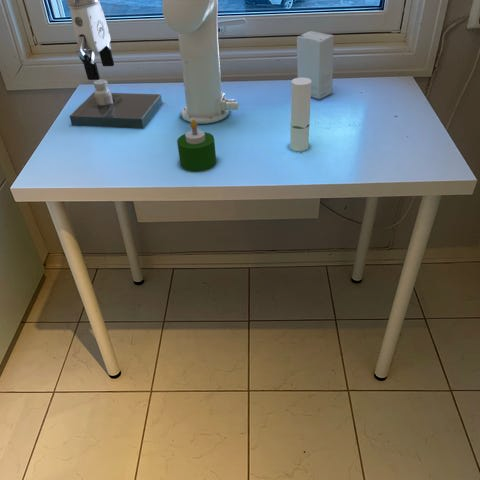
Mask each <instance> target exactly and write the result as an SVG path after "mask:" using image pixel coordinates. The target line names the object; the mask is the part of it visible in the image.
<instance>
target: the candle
mask: <svg viewBox="0 0 480 480" xmlns="http://www.w3.org/2000/svg"><path fill="white" fill-rule="evenodd" d="M190 129H191V130H188V131H186V133H183V134H181V135H180V136H179V137H178V138H177V139H176V140H177V141H176V143H177V151H178V159H179V164H180V167H181V168H182V169H183V170H185V171H187V172H204V171H207V170H210V169H212V168H214V166H215V165H216V164H217V155H216V144H215V137H214V135H213V134H212V133H209V132H207V131H203V130H201V129H198V123H197V122H196V121H195V120H192V121H191V122H190Z"/></svg>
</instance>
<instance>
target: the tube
mask: <svg viewBox="0 0 480 480" xmlns="http://www.w3.org/2000/svg"><path fill="white" fill-rule="evenodd" d="M290 83H291V85H290V87H291V90H290V130H289V131H290V135H289V136H290V137H289V138H290V139H289V148H290V150H292V151H294V152H304V151H307V150H308V149H309V145H310V141H309V140H310V120H311V117H310V116H311V101H312V97H311V79H309V78H304V77H300V78H297V77H295V78H293V79H292V80H291V82H290Z"/></svg>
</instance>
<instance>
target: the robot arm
mask: <svg viewBox="0 0 480 480" xmlns="http://www.w3.org/2000/svg"><path fill="white" fill-rule="evenodd" d="M65 1H66V4H67V7H68V9H69V11H70V18H71V24H72V28H73V32H74V36H75V40H76V43H77V44H76V48H75V51H76V54H77V55H78V58H79V60H80V61H81V63H82V65H83V67H84V71H85V73H86V78H87V80H88V81H96V80H100V79H101V77H100V73H99V69H98V65H97V62H95V53H97V54H99V58H100V61H101V65H102V67H114V66H115V62H114V57H113V54H112V46H111V41H112V39H111V34H110V30H109V26H108V23H107V19H106V15H105V13H104V10H103V7H102V4H101V2H100V0H65ZM218 2H219V1H218V0H162V2H161V11H162V16H163V18H164V20H165V22H166V24H167V26H168V27H169V28H170V29H171V30H172V31H174V32H175V33H178V34H177V35H178V37H177V38H178V47H179V56H180V64H181V71H182V80H183V81H182V82H183V88H184V97H185V106H184V107H183V108H182V109H181V112H180V114H181V118H182V119H183V120H184V121H186V122H187V123H191V121H192V120H195V121H196V122H197V125H198V124H201V125H202V124H212V123H216V122H220V121H223V120H224V119H225V118H227V116H228V115H229V114H230V111H239V107H240V106H239V105H240V104H239V102H237V100H236V99H233V98H232V99H228V98H227V97H226V93H225V92H223V90H222V78H221V75H222V74H221V64H220V63H221V62H220V48H219V33H218V31H219V30H218V29H219V28H218V19H219V18H218V17H219V16H218V14H219V13H218V12H219V10H218V8H219V3H218Z"/></svg>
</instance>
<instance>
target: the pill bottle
mask: <svg viewBox="0 0 480 480" xmlns="http://www.w3.org/2000/svg"><path fill="white" fill-rule="evenodd" d="M93 86H94V89H95V90H94V91H93V93H94V94H95V98H96V102H97V105H109V104H111V103H113V99H112V95H111V93H112V91H111V89H110V88H109V87H108V80H107V79H101V78H100V79H99V80H93Z"/></svg>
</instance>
